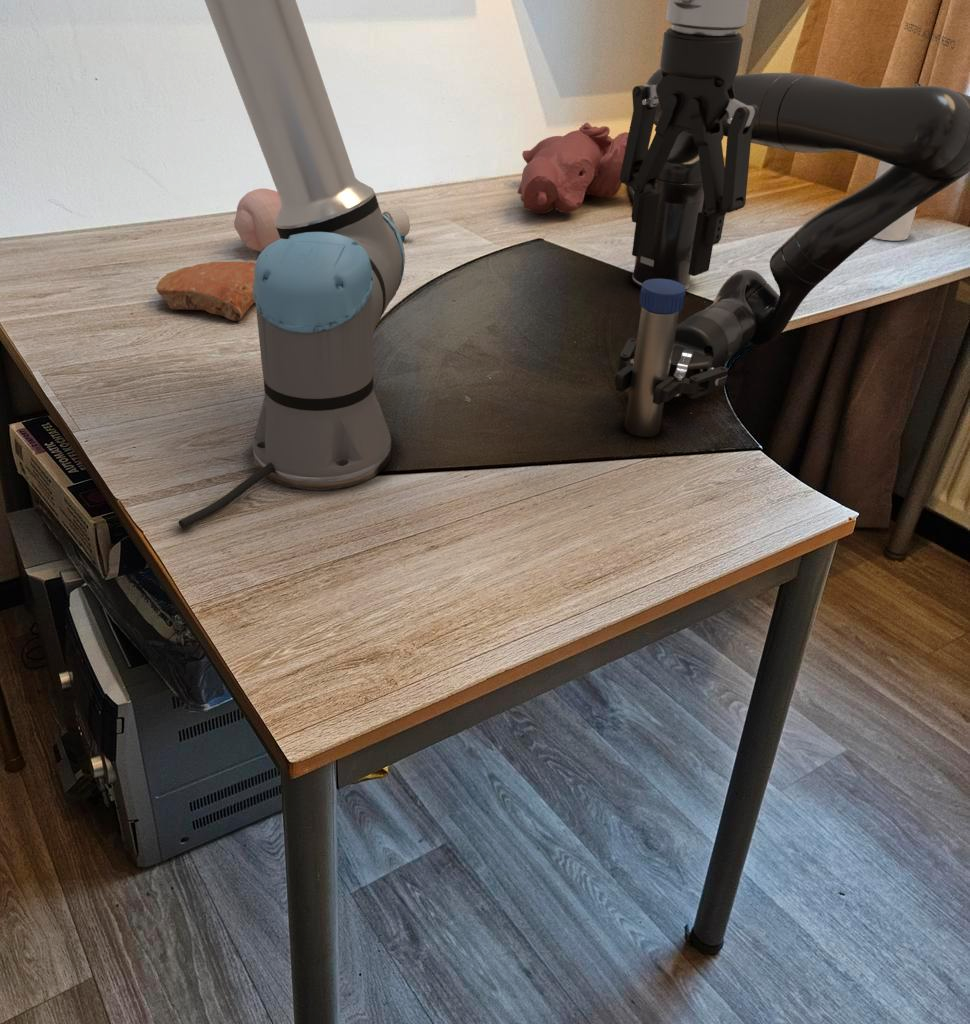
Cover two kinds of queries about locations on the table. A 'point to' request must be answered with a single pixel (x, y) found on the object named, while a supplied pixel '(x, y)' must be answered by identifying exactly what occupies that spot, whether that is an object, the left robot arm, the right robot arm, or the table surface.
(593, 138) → the red clay animal figurine
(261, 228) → the toy
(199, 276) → the ceramic shard
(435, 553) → the table surface
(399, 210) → the electric motor
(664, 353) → the grey metal cylinder
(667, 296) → the lid
